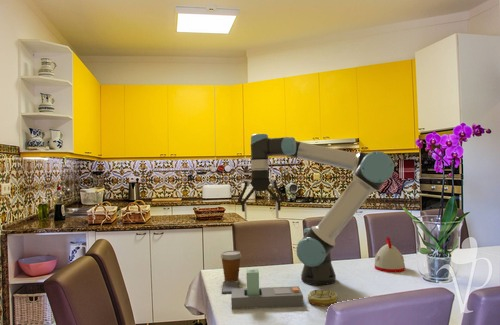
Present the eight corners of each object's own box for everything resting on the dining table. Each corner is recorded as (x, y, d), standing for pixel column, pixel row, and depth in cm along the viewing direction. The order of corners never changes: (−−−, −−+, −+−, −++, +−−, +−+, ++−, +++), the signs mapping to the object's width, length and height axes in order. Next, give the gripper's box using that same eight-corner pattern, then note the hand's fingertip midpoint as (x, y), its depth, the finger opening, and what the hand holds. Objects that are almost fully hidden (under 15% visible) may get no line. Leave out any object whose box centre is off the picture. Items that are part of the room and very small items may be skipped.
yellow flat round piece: (310, 296, 141) (310, 286, 141) (338, 298, 137) (338, 288, 138) (305, 305, 131) (305, 295, 131) (335, 308, 128) (335, 297, 128)
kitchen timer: (401, 265, 181) (400, 235, 181) (408, 273, 167) (407, 240, 168) (372, 264, 183) (371, 235, 184) (377, 272, 170) (376, 240, 170)
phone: (239, 284, 159) (239, 281, 159) (238, 294, 146) (238, 291, 146) (223, 285, 159) (223, 282, 159) (221, 295, 146) (221, 292, 146)
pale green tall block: (259, 300, 137) (258, 268, 137) (259, 305, 132) (258, 272, 133) (247, 301, 137) (246, 269, 137) (247, 305, 132) (246, 272, 133)
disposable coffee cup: (239, 282, 160) (238, 255, 160) (218, 281, 162) (217, 255, 162) (243, 276, 169) (243, 250, 169) (224, 275, 171) (223, 250, 171)
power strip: (298, 296, 140) (298, 284, 140) (303, 306, 130) (302, 293, 130) (232, 299, 139) (231, 286, 139) (231, 309, 129) (231, 295, 129)
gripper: (287, 168, 160) (289, 216, 159) (231, 170, 159) (232, 218, 159) (289, 168, 152) (291, 219, 152) (231, 170, 152) (232, 220, 151)
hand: (261, 218), depth 155 cm, fingers open, 13 cm apart
